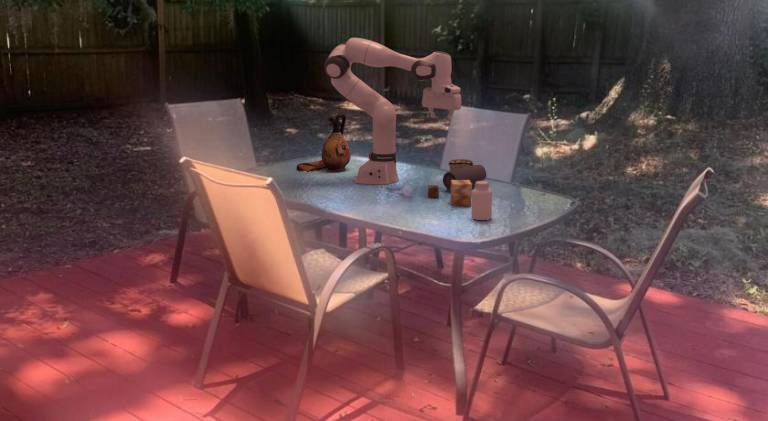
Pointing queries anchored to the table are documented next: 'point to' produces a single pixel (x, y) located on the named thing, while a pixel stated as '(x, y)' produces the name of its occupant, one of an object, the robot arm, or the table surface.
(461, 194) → the tower top
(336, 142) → the ceramic jug
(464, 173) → the bluetooth speaker
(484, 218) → the pill bottle
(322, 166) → the sunglasses case
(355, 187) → the table surface
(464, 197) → the block
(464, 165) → the brown half-round wedge
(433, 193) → the walnut block
